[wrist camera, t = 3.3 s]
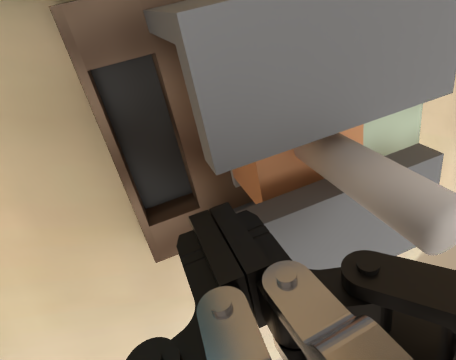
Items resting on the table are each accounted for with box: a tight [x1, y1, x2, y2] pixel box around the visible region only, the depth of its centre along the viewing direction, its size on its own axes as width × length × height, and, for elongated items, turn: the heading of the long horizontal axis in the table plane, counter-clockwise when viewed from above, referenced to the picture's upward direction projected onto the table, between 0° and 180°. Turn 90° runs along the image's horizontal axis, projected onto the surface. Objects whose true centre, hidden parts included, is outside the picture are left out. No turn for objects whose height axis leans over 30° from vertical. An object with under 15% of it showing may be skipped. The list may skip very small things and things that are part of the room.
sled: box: [230, 124, 456, 255], centre depth 16 cm, size 8×6×13 cm
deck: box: [49, 0, 423, 263], centre depth 22 cm, size 16×22×2 cm
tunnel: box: [143, 0, 456, 270], centre depth 18 cm, size 14×11×8 cm
